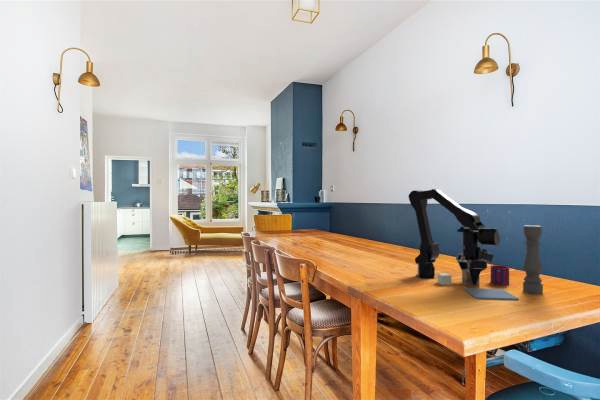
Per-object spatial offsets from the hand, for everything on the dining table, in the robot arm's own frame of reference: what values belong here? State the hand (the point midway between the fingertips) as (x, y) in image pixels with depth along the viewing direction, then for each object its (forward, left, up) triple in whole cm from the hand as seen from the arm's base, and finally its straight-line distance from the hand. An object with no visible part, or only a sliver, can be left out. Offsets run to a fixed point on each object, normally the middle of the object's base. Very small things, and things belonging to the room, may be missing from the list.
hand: (470, 281), depth 139 cm
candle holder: (+19, -9, -2) cm, 21 cm away
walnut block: (0, 0, -2) cm, 2 cm away
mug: (+12, +3, -2) cm, 12 cm away
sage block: (-10, +1, -2) cm, 10 cm away
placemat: (+2, -14, -1) cm, 14 cm away
